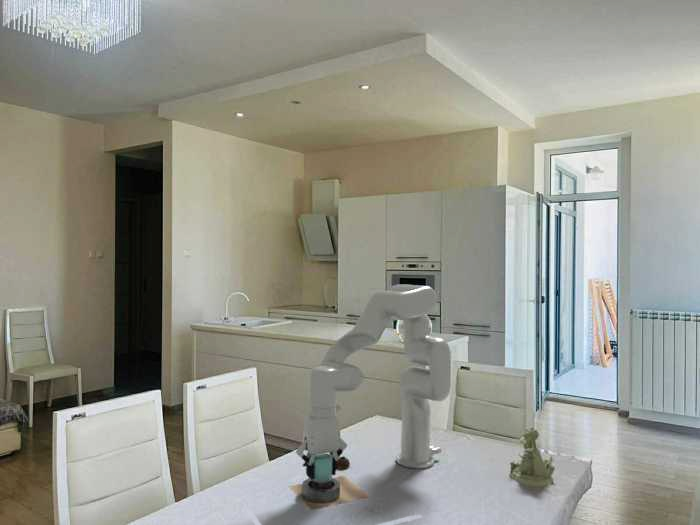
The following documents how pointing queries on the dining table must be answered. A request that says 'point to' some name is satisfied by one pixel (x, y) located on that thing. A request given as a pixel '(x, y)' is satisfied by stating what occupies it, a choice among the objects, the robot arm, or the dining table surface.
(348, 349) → the robot arm
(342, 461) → the toy
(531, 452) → the figurine
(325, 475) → the teal rounded tetrahedron
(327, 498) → the faceted gray ring
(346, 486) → the board
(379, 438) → the dining table surface
